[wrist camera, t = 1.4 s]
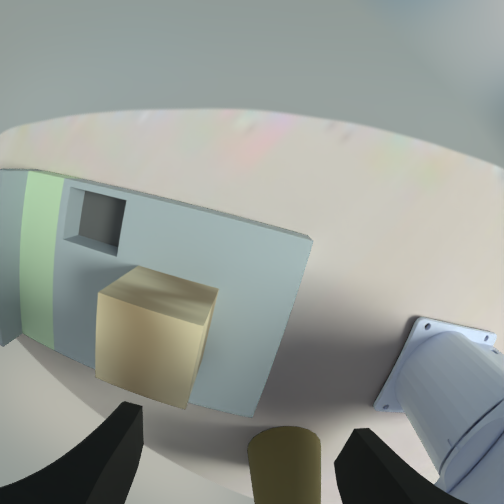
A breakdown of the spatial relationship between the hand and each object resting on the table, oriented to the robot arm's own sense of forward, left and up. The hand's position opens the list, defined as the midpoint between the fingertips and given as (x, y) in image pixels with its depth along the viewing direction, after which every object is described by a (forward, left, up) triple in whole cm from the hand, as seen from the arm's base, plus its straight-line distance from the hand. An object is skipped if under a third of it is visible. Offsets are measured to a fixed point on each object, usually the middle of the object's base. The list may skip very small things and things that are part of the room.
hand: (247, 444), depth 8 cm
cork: (-6, +11, -10) cm, 16 cm away
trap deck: (+7, 0, -10) cm, 12 cm away
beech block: (+5, 0, -8) cm, 9 cm away
